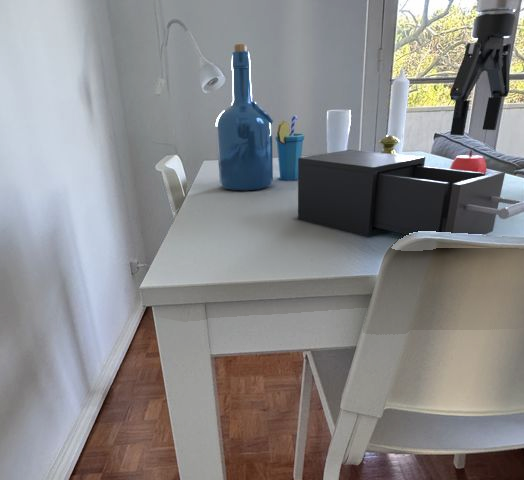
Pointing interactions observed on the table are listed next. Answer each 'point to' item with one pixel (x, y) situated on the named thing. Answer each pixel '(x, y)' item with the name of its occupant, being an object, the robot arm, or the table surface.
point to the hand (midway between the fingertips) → (473, 132)
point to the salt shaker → (388, 144)
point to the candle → (398, 109)
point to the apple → (469, 163)
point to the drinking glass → (337, 130)
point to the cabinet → (344, 187)
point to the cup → (288, 150)
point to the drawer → (440, 200)
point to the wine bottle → (244, 134)
